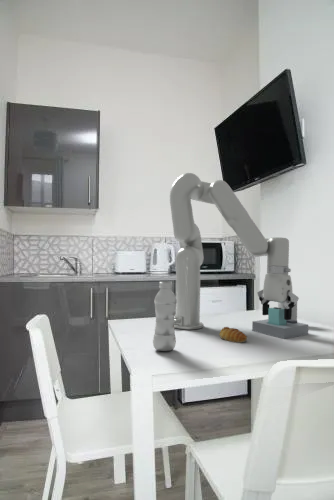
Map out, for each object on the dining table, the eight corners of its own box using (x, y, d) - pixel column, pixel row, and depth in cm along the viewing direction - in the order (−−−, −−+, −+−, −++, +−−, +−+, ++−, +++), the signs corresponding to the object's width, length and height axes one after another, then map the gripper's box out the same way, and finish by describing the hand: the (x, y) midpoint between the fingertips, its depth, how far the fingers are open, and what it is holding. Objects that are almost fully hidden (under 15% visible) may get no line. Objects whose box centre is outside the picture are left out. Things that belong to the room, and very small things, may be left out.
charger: (278, 335, 117) (278, 309, 117) (268, 332, 120) (268, 307, 121) (286, 333, 119) (286, 308, 120) (275, 331, 123) (276, 306, 123)
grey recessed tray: (284, 338, 111) (284, 326, 111) (252, 330, 123) (252, 319, 123) (308, 334, 119) (308, 322, 119) (276, 326, 130) (276, 316, 131)
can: (293, 323, 138) (294, 295, 138) (299, 327, 130) (299, 297, 130) (275, 323, 138) (276, 294, 139) (280, 326, 131) (280, 296, 131)
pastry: (251, 341, 107) (252, 330, 107) (238, 345, 103) (238, 333, 103) (230, 336, 115) (230, 325, 115) (216, 339, 111) (216, 327, 111)
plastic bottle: (152, 347, 98) (153, 280, 98) (174, 347, 98) (175, 281, 99) (153, 353, 91) (154, 282, 92) (177, 353, 92) (178, 282, 92)
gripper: (304, 272, 115) (303, 320, 115) (265, 269, 130) (264, 312, 129) (291, 272, 111) (290, 322, 111) (252, 269, 126) (251, 314, 125)
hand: (276, 317), depth 120 cm, fingers open, 9 cm apart
